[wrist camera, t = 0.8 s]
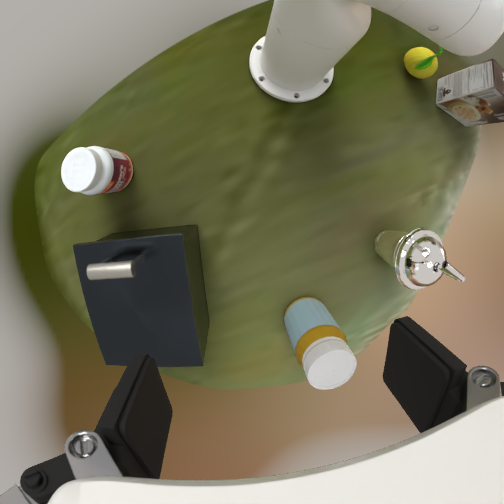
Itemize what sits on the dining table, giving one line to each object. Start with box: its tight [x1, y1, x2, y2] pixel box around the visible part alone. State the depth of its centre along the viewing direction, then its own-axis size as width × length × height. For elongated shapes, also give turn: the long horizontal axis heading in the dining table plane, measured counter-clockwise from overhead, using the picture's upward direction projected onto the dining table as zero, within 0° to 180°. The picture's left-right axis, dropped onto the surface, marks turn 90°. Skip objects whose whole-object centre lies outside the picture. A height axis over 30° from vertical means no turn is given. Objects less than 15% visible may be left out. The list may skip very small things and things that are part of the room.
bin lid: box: [73, 232, 204, 367], centre depth 28 cm, size 16×14×6 cm
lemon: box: [404, 47, 444, 78], centre depth 30 cm, size 7×6×10 cm
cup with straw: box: [374, 228, 465, 290], centre depth 32 cm, size 8×9×20 cm
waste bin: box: [95, 225, 209, 362], centre depth 36 cm, size 16×14×11 cm
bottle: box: [284, 297, 356, 390], centre depth 37 cm, size 7×7×15 cm
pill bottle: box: [61, 146, 133, 195], centre depth 31 cm, size 6×6×11 cm
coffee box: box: [436, 59, 504, 127], centre depth 29 cm, size 9×6×16 cm
